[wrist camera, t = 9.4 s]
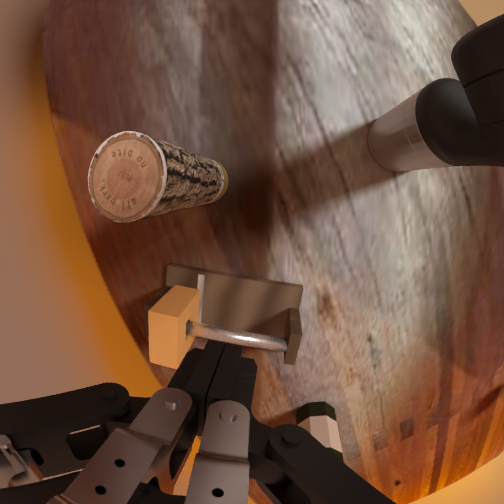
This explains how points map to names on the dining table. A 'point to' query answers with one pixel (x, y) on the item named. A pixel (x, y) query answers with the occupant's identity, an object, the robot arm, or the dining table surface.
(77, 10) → the dining table surface
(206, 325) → the pipe stand
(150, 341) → the collar
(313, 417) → the wine bottle
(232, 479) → the robot arm
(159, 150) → the bark log section
